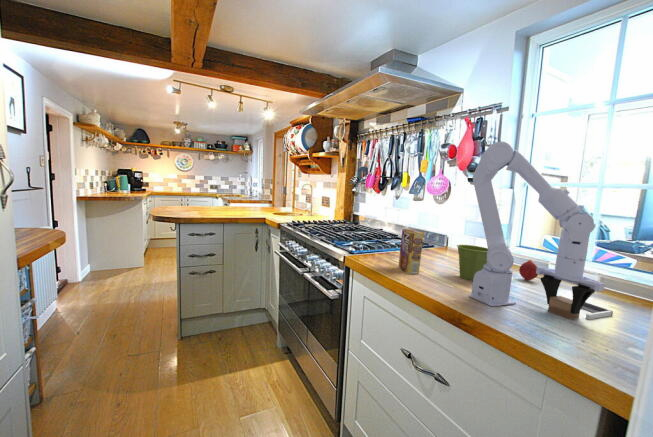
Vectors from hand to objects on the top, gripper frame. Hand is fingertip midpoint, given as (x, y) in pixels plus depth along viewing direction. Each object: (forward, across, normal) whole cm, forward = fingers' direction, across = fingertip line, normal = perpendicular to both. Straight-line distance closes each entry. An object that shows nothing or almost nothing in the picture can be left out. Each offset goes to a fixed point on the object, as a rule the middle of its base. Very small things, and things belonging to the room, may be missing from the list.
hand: (562, 308), depth 77 cm
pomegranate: (+2, +24, -22) cm, 33 cm away
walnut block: (+2, 0, 0) cm, 2 cm away
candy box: (+2, +42, +17) cm, 45 cm away
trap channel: (+2, 0, -9) cm, 9 cm away
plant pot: (+2, +30, -1) cm, 30 cm away
